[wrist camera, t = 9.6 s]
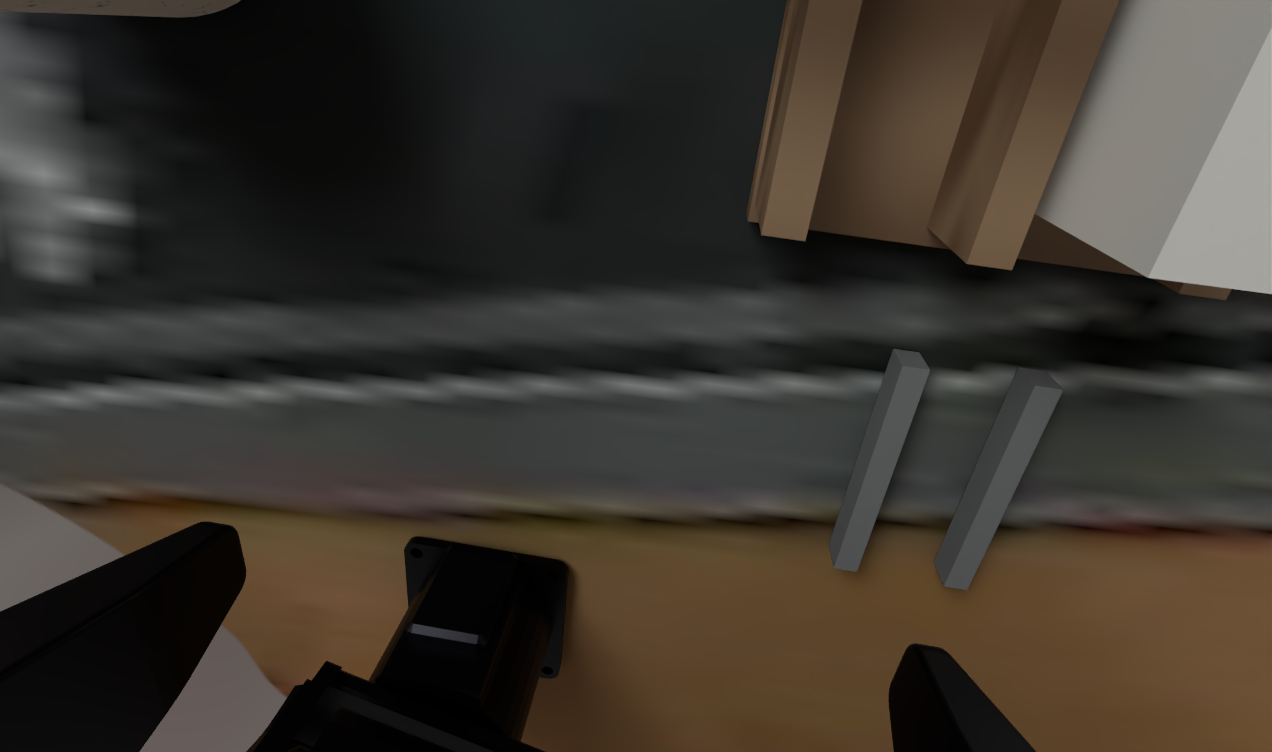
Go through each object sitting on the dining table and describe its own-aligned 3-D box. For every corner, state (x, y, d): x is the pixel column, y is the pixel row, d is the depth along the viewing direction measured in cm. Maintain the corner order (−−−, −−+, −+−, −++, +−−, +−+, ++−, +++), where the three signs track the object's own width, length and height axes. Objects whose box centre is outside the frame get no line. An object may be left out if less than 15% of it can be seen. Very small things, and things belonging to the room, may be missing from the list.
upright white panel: (1098, 207, 17) (1294, 297, 11) (1002, 196, 17) (1147, 277, 11) (1246, -132, 13) (1634, -257, 8) (1126, -144, 14) (1421, -275, 8)
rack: (1288, 287, 18) (1435, 352, 14) (746, 212, 19) (752, 255, 15) (1572, -174, 13) (1900, -255, 10) (834, -248, 14) (874, -350, 10)
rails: (956, 565, 24) (967, 590, 23) (829, 544, 24) (833, 568, 23) (1045, 371, 20) (1063, 389, 19) (893, 348, 20) (902, 366, 19)
